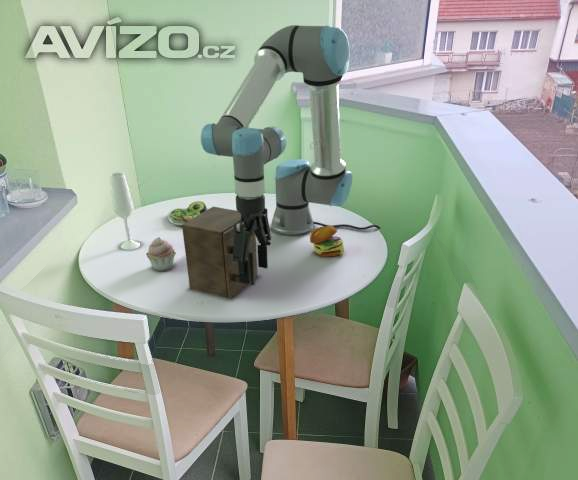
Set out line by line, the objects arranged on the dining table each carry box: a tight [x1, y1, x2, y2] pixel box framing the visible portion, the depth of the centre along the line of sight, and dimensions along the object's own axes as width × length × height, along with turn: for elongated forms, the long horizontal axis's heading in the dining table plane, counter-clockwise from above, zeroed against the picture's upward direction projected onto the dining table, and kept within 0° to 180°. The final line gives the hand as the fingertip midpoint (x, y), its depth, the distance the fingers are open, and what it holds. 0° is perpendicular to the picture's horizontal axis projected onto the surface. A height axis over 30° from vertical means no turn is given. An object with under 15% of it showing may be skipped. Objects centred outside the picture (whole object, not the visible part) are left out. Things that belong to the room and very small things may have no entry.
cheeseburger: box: [309, 224, 345, 258], centre depth 188 cm, size 10×11×10 cm
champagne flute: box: [109, 172, 141, 251], centre depth 188 cm, size 7×7×24 cm
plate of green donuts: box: [167, 200, 210, 228], centre depth 212 cm, size 19×18×5 cm
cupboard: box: [181, 206, 241, 299], centre depth 167 cm, size 13×16×20 cm
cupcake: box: [145, 236, 177, 272], centre depth 179 cm, size 9×9×10 cm
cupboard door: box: [223, 226, 258, 300], centre depth 163 cm, size 8×16×20 cm, turn 153°
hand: (254, 274), depth 159 cm, fingers open, 10 cm apart
